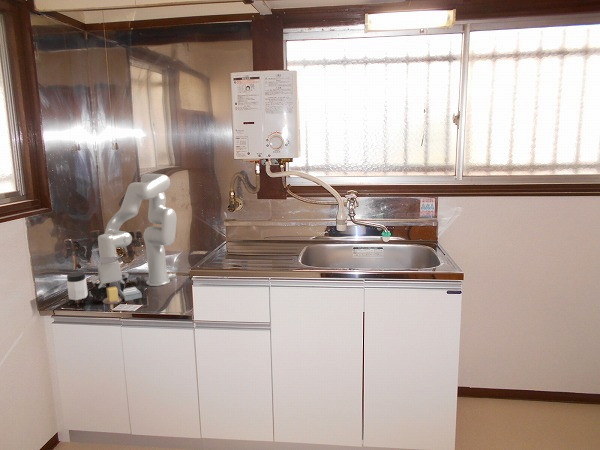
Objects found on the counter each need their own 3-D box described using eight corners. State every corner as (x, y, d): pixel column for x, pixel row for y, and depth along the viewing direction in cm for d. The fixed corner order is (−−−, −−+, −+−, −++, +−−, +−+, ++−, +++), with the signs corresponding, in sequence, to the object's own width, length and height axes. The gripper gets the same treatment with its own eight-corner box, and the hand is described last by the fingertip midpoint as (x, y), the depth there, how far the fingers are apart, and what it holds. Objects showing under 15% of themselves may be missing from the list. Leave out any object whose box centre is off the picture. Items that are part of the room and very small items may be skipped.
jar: (91, 295, 228) (89, 272, 226) (79, 300, 220) (76, 277, 218) (77, 293, 231) (75, 271, 228) (65, 299, 223) (62, 276, 221)
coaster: (120, 296, 226) (119, 294, 226) (124, 301, 219) (124, 300, 218) (101, 300, 221) (101, 298, 221) (105, 305, 214) (104, 304, 213)
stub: (116, 297, 222) (114, 285, 221) (118, 300, 218) (117, 288, 217) (107, 299, 220) (106, 287, 219) (109, 302, 216) (108, 290, 215)
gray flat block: (135, 290, 233) (135, 286, 233) (141, 297, 224) (141, 292, 223) (119, 294, 229) (119, 289, 228) (125, 301, 219) (124, 296, 219)
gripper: (125, 254, 223) (128, 287, 227) (87, 260, 214) (91, 294, 217) (129, 258, 217) (132, 291, 221) (90, 264, 208) (94, 299, 211)
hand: (112, 292), depth 219 cm, fingers open, 9 cm apart
